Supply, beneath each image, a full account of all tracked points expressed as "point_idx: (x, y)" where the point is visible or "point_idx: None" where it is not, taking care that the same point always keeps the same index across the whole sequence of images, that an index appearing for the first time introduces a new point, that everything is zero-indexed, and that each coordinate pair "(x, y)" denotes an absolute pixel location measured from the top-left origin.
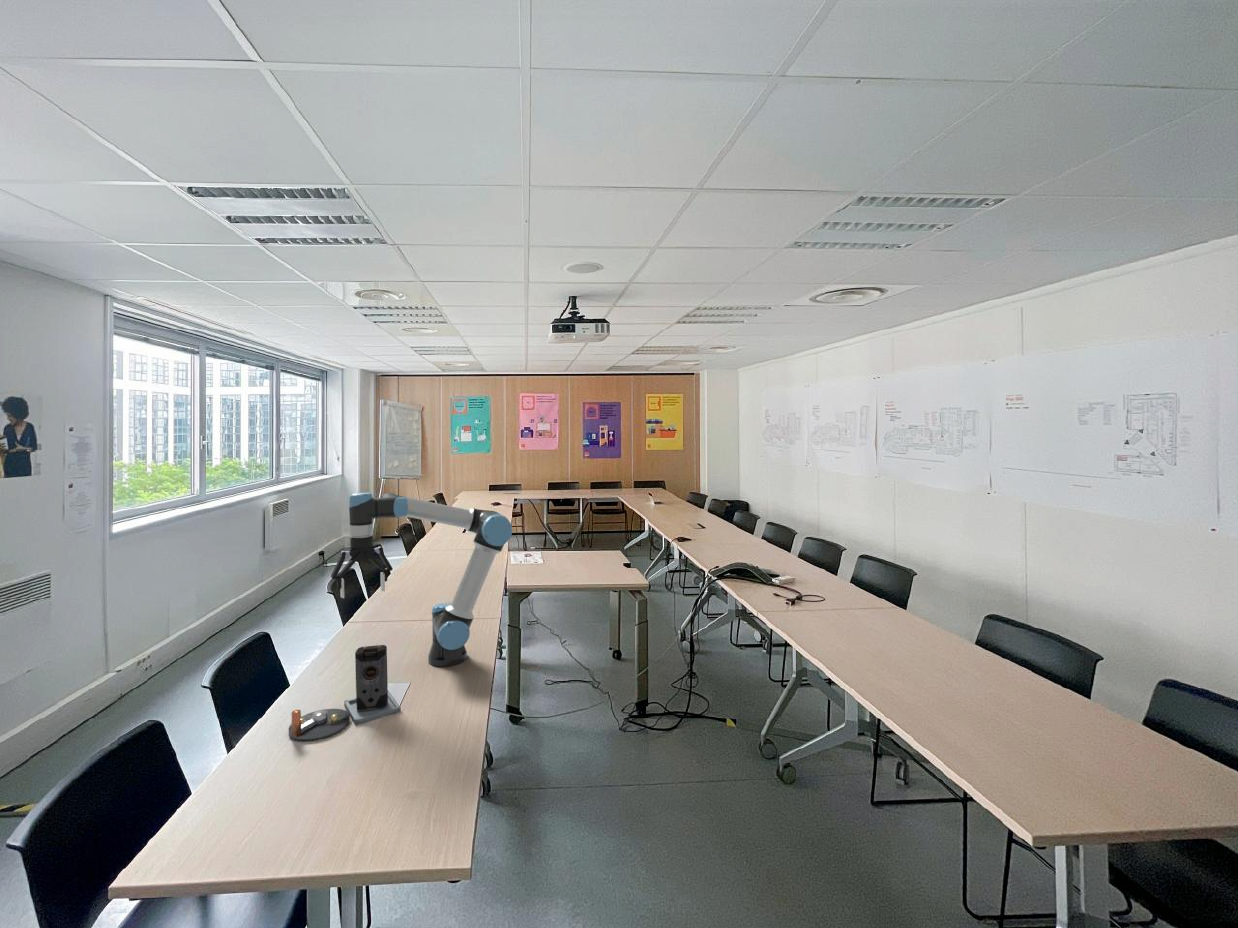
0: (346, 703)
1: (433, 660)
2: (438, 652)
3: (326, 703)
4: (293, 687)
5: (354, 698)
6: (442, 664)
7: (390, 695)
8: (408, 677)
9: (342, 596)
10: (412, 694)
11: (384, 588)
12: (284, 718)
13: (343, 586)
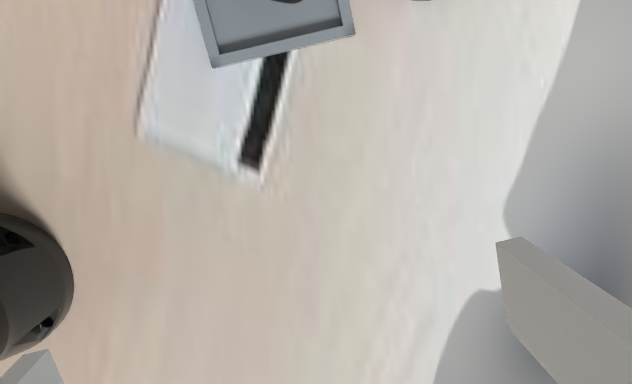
0: (348, 9)
1: (42, 247)
2: (3, 254)
3: (407, 82)
4: None
5: (322, 39)
6: (14, 220)
7: (199, 5)
8: (144, 177)
9: (528, 245)
10: (127, 21)
11: (5, 378)
12: (526, 26)
13: (602, 316)
